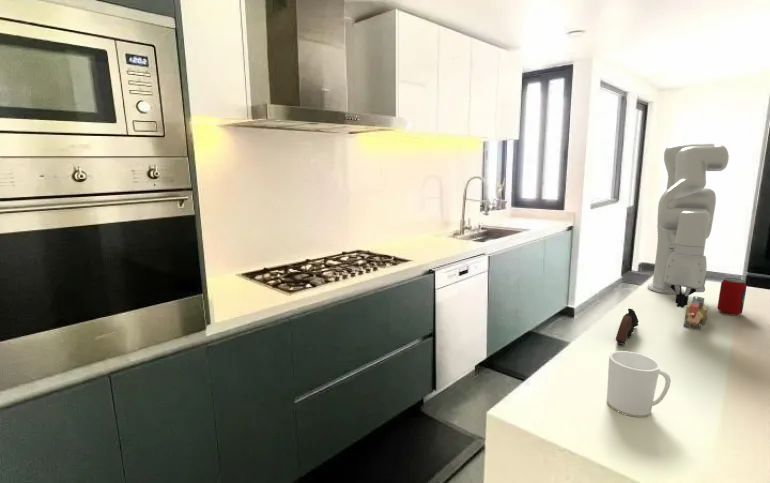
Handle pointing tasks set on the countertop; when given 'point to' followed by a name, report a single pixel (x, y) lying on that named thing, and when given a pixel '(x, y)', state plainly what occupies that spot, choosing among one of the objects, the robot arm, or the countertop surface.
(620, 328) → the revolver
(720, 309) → the beverage can
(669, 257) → the robot arm
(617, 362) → the mug
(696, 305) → the lever
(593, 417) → the countertop surface
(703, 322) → the pipework
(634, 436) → the countertop surface
